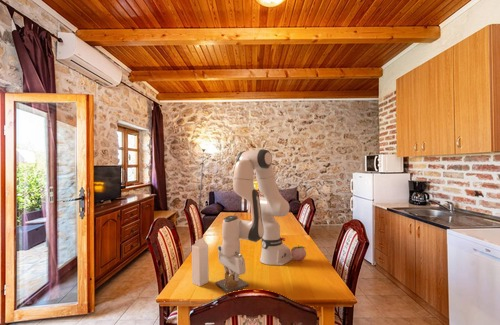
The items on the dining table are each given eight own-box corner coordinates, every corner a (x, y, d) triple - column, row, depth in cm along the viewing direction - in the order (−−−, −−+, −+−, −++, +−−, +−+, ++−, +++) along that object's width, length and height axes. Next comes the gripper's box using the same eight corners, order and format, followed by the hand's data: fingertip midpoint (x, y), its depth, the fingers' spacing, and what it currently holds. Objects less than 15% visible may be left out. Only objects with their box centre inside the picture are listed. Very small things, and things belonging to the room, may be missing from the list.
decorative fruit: (301, 258, 159) (300, 242, 160) (308, 262, 152) (308, 246, 152) (288, 260, 156) (287, 244, 156) (295, 265, 148) (294, 248, 149)
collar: (233, 279, 130) (233, 269, 130) (240, 283, 125) (240, 273, 125) (223, 282, 126) (222, 272, 126) (229, 287, 121) (229, 276, 121)
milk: (208, 282, 129) (208, 238, 129) (199, 286, 124) (199, 241, 124) (201, 278, 133) (200, 236, 133) (191, 283, 128) (191, 239, 128)
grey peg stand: (235, 277, 134) (235, 262, 134) (248, 286, 124) (248, 269, 124) (215, 283, 127) (215, 267, 127) (227, 293, 117) (227, 276, 117)
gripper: (248, 253, 119) (249, 283, 119) (226, 243, 135) (227, 269, 135) (237, 256, 115) (237, 287, 115) (216, 245, 132) (216, 272, 132)
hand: (231, 277), depth 125 cm, fingers open, 7 cm apart
